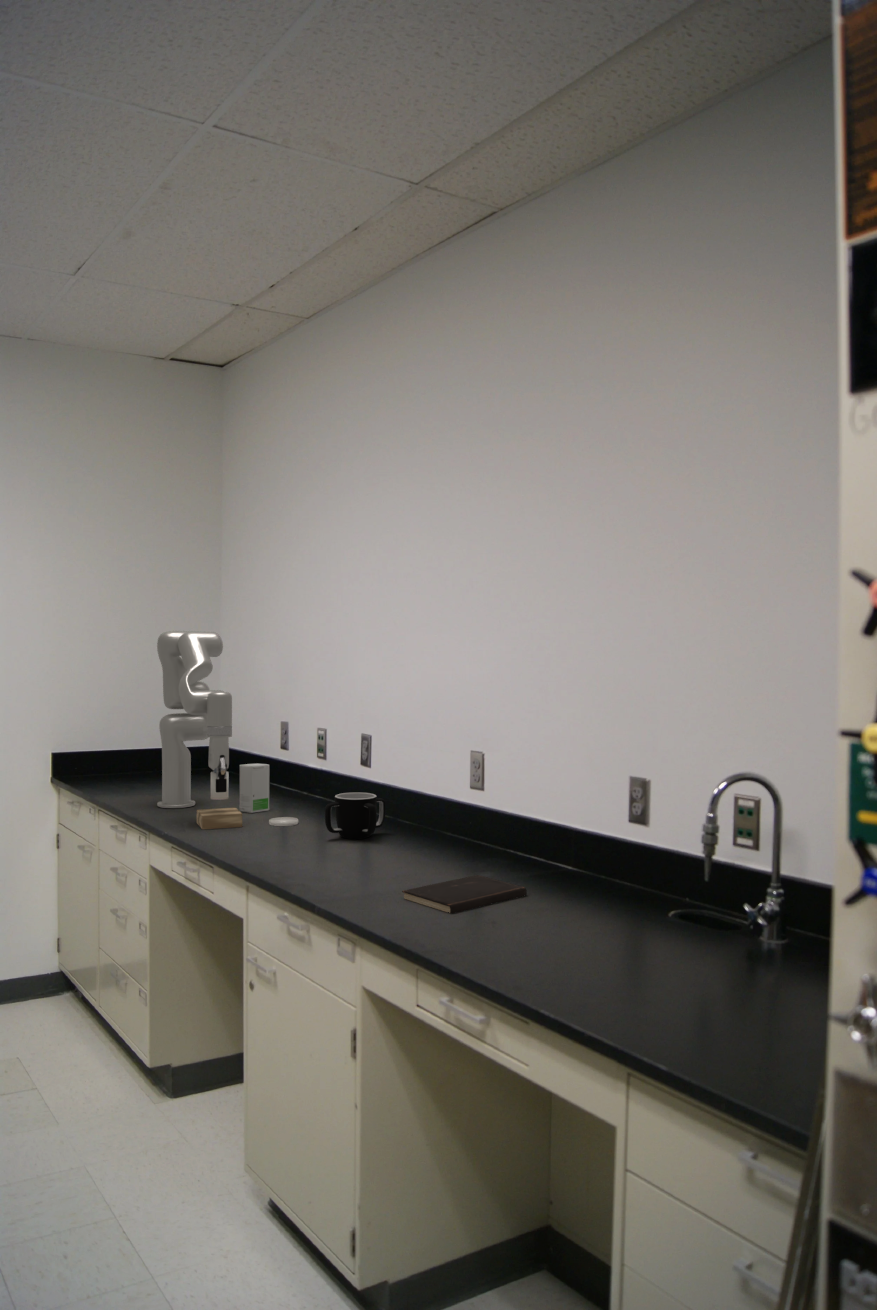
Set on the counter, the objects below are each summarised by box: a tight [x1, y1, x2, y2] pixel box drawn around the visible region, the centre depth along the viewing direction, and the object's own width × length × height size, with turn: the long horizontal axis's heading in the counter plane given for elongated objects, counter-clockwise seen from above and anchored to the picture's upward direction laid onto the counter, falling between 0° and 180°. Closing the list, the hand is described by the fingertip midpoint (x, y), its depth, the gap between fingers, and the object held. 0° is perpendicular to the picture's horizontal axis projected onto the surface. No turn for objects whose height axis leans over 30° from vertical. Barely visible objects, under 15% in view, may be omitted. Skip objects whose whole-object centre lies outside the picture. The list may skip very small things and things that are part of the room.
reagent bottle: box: [210, 768, 230, 801], centre depth 299 cm, size 5×5×9 cm
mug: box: [324, 792, 386, 840], centre depth 282 cm, size 16×16×12 cm
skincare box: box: [238, 762, 270, 814], centre depth 324 cm, size 8×7×16 cm
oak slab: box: [196, 807, 243, 830], centre depth 299 cm, size 12×12×4 cm
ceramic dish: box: [268, 816, 299, 827], centre depth 302 cm, size 9×9×1 cm
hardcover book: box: [401, 874, 528, 914], centre depth 216 cm, size 16×23×2 cm
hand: (219, 790), depth 299 cm, fingers closed on reagent bottle, 5 cm apart
